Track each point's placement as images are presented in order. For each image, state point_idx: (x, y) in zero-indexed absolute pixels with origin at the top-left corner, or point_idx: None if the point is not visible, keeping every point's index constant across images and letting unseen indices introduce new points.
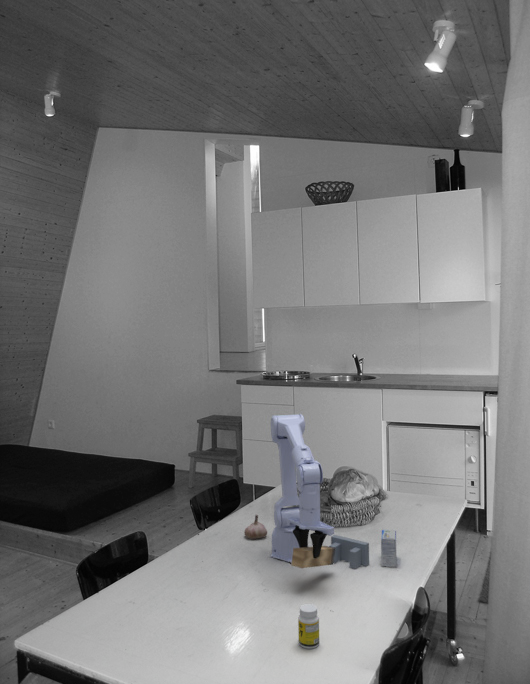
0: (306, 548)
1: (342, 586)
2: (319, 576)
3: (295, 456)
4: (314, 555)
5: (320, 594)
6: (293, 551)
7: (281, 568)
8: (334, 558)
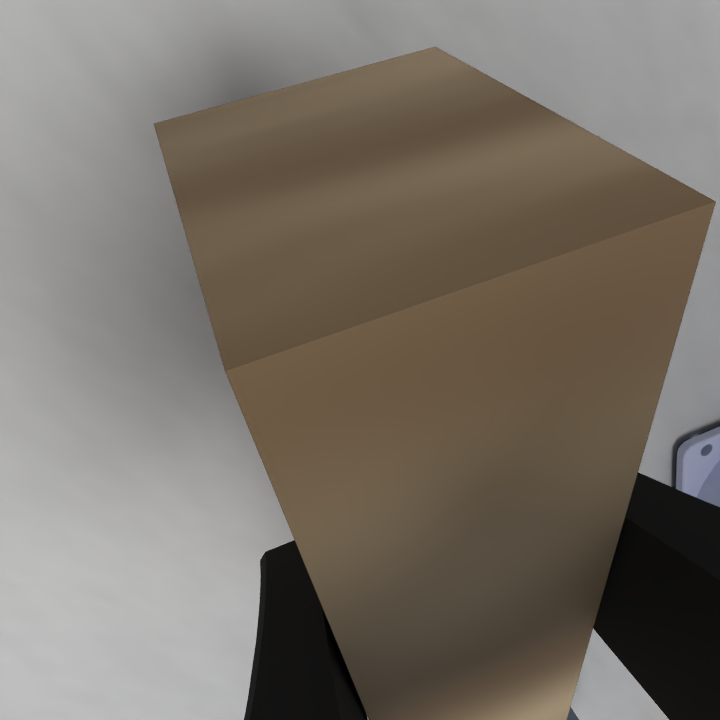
0: (522, 578)
1: (104, 553)
2: None
3: None
4: (277, 581)
5: (56, 289)
6: (618, 160)
7: (710, 317)
8: None
